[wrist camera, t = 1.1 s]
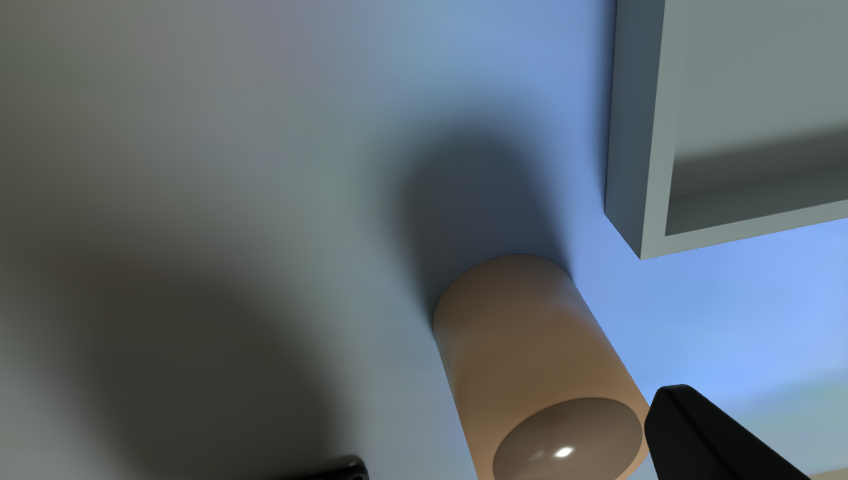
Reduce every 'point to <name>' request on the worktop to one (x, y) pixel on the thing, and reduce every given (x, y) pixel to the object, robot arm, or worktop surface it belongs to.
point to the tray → (726, 120)
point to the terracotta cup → (536, 376)
